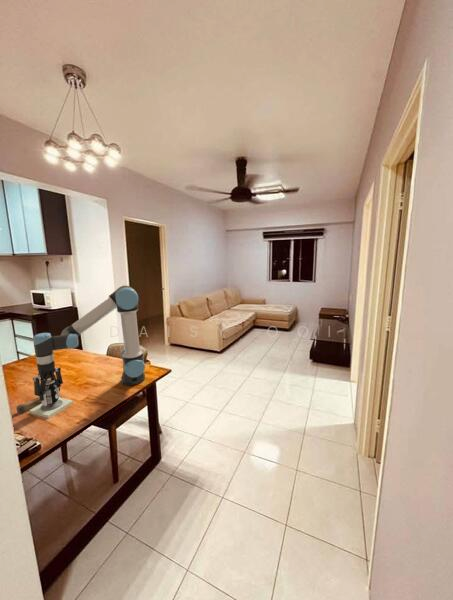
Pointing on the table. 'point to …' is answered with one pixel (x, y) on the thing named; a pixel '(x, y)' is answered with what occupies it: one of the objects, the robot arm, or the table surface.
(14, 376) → the table surface
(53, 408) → the board
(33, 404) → the brown grey-ended bar
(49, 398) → the beverage can
